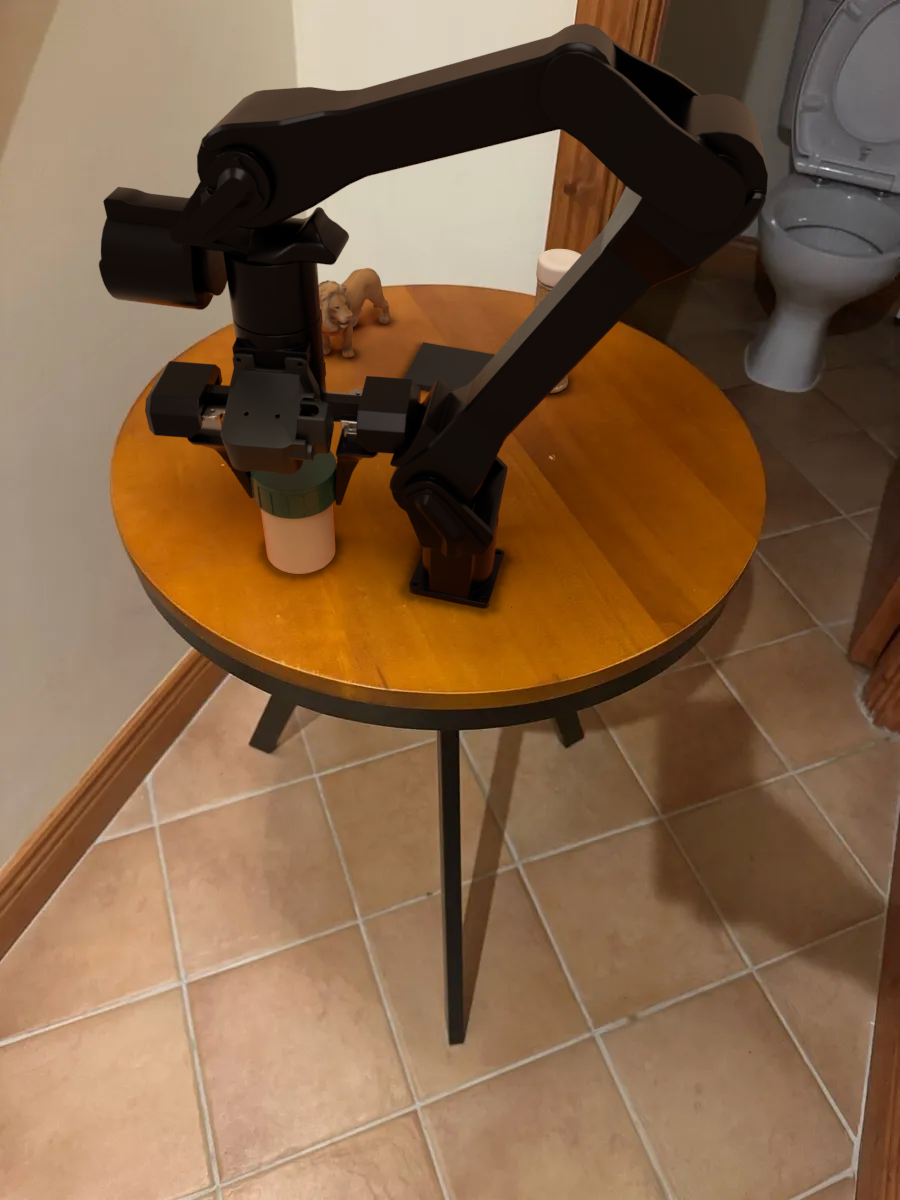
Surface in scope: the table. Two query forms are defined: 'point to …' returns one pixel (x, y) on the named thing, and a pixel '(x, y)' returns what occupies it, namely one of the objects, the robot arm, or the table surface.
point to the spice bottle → (553, 280)
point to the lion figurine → (349, 306)
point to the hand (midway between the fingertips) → (296, 498)
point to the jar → (300, 541)
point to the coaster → (446, 366)
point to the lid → (297, 488)
